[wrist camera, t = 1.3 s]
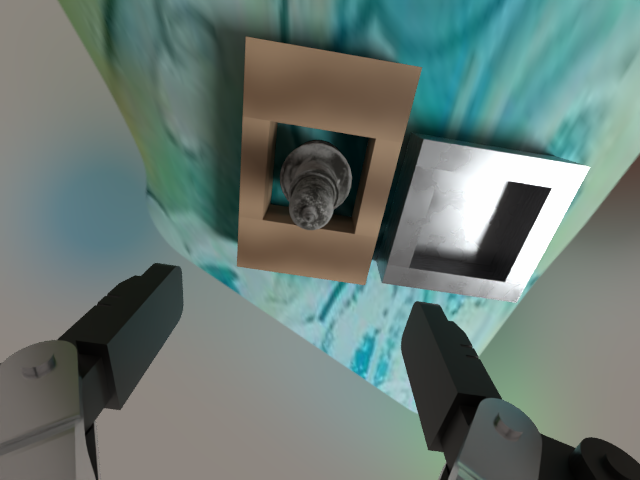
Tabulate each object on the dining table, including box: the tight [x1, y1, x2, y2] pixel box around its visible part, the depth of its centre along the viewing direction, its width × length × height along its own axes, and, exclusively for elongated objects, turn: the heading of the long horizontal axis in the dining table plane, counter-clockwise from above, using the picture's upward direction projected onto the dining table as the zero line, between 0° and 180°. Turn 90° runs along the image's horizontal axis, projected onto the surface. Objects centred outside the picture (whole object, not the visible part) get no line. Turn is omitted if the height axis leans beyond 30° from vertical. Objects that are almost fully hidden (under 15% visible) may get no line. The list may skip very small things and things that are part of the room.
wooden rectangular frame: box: [237, 37, 422, 285], centre depth 26 cm, size 18×12×4 cm, turn 171°
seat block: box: [376, 132, 590, 303], centre depth 28 cm, size 13×13×4 cm
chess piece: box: [280, 140, 352, 230], centre depth 23 cm, size 6×6×12 cm
